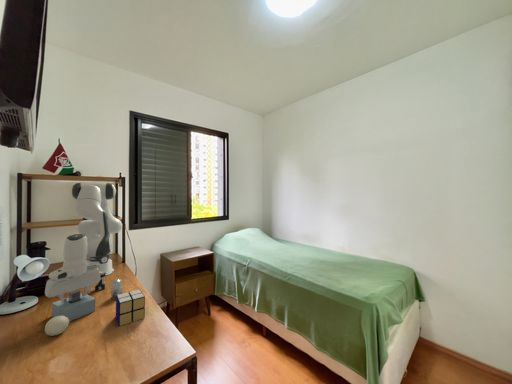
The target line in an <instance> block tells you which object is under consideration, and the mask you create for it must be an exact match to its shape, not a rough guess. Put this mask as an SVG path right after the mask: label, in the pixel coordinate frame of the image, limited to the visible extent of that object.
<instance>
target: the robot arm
mask: <svg viewBox="0 0 512 384" xmlns="http://www.w3.org/2000/svg"><path fill="white" fill-rule="evenodd" d="M116 194H117V189H116V187H115V185H114V184H113V183H109V182H107V183H105V182H76V183H75V184H73V185H72V188H71V195H72V197H73V199H75V200H76V201H75V212H76V214H77V215H78V216H80V217H81V218H83V219H84V220H81V221H80V222H79V223H78V224H77V232H78V233H75V234H72V235H68V236H66V238H65V240H64V245H63V254H62V256H63V264H62V266H61V267H59V268H57V269H55V270H53V271H52V272H49V273H48V278H49V279H48V280H47V281H46V284H45V289H44V295H45V297H47V298H50V299H51V298H54V297H58V298H59V299H60V300H61V303H62V304H63V303H66V302H67V298H68V297H67V298H66V297H64V296H65V294H67V293H69V292H72V291H76V290H79V289H84V290H83V291H82V292H81V293H82V296H86V295H88V291H89V290H90V288H91V286H93V285H96V284H97V283H99V282H100V272H101V271H104V273H106V274H105V277H106V276H108V275H111V274H112V273H113V272H115V269H114V268H113V260H112V259H111V251H112V248H113V246H112V245H113V244H112V240H111V235H113V234H117V233H119V232H121V230H122V229H123V223H122V220H120V219H119V218H116V217H115V216H114V215H113V214H112V213H111V209H110V203H109V202H110V200H112V199H114V198H115V196H116ZM87 258H88V259H87Z"/></svg>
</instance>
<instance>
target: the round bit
mask: <svg viewBox="0 0 512 384" xmlns="http://www.w3.org/2000/svg"><path fill="white" fill-rule="evenodd" d="M110 283H111V287H110V289H111V291H110V293H111V295H110V296H111V300H116V296H117V295H119V294H123V293H122V292H123V291H122V290H123V288H122V287H123V285H122V284H123V279H122V278H116V279H112V280H111V282H110Z"/></svg>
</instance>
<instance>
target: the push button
mask: <svg viewBox="0 0 512 384" xmlns="http://www.w3.org/2000/svg"><path fill="white" fill-rule="evenodd" d="M105 274H106V273H104V271H101V272H100V282H99V283H97V284H94V287H91V290H92V291H101V290H105V289H106V283H105V277H106V276H105Z"/></svg>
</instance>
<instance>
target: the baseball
mask: <svg viewBox="0 0 512 384" xmlns="http://www.w3.org/2000/svg"><path fill="white" fill-rule="evenodd" d="M69 324H70V321H69V319H68V318H67V317H65V316H56V317H52V318H50V319H49V320H48V321H47V322H46V324H45V325H44V332H45V334H46V335H47V336H51V337H53V336H54V337H55V336H58V335H59V334H62V333H63V332H64V331H65V330H66V329H67V327H68V325H69Z"/></svg>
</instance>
